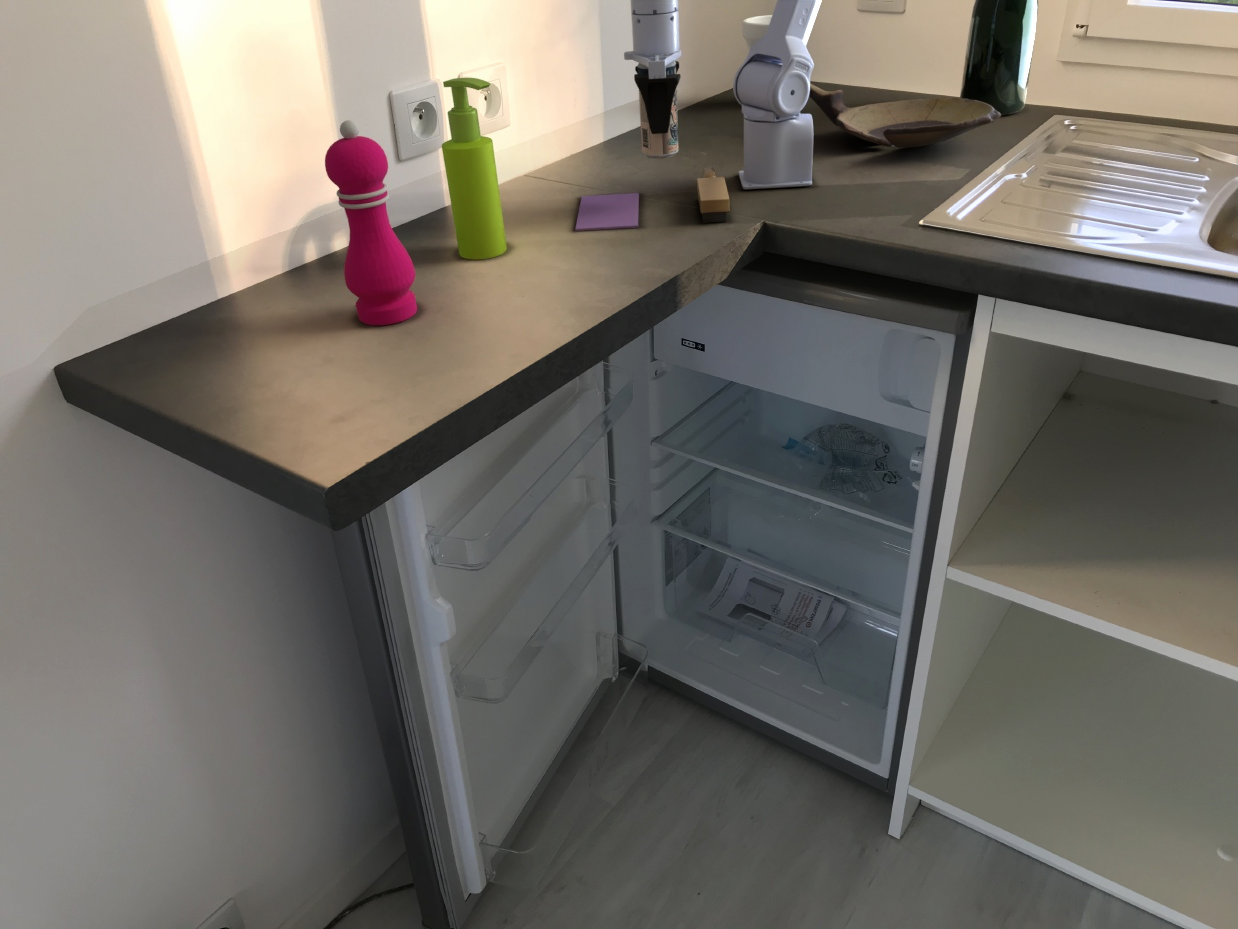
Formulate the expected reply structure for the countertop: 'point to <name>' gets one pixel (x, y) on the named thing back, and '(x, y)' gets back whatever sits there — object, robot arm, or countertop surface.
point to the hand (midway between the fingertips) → (659, 127)
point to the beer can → (664, 142)
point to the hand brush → (712, 196)
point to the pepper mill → (370, 231)
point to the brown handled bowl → (905, 118)
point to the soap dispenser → (472, 178)
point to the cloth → (608, 212)
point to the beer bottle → (1000, 53)
